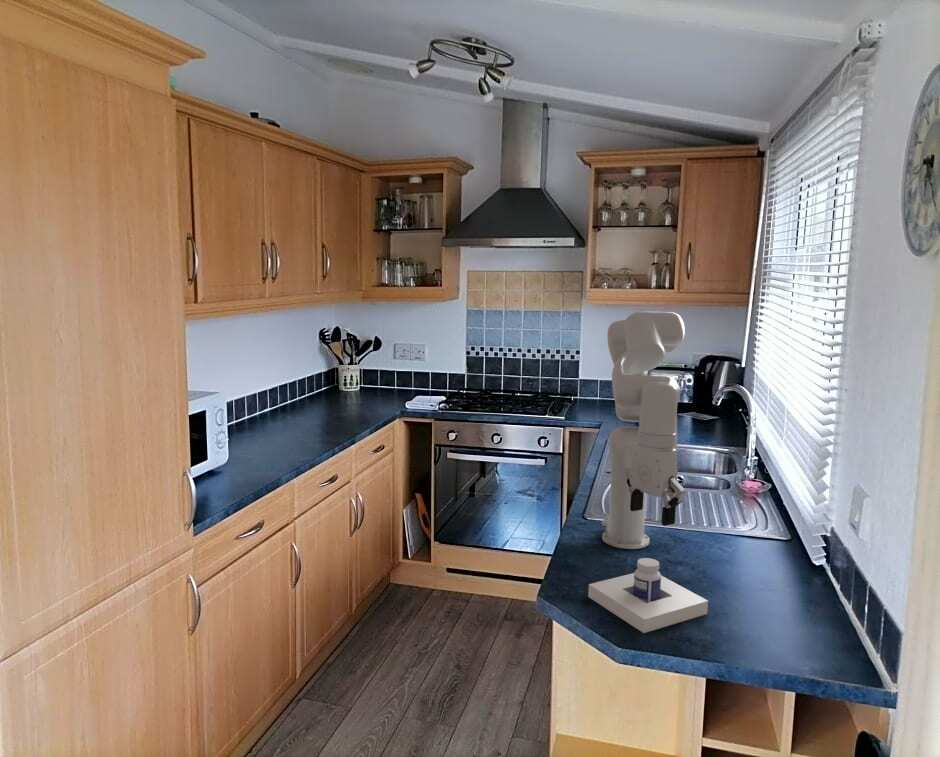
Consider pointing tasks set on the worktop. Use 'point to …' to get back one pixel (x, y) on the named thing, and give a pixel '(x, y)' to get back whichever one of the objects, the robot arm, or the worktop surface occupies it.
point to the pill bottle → (647, 580)
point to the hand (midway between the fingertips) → (651, 517)
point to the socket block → (651, 615)
